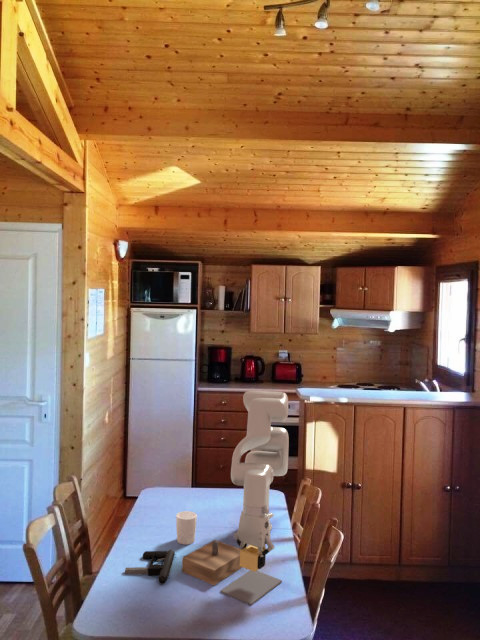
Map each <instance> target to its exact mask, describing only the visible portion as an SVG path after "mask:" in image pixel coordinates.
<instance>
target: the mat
mask: <svg viewBox="0 0 480 640" xmlns="http://www.w3.org/2000/svg"><path fill="white" fill-rule="evenodd" d="M282 582H283V580H282V579H279V578H278V577H274V576H271V575H269V574H266V573H264V572H261V571H259V570H257V571H256V572H254V571H251V570H249V571H247V572H246V573H244V574H242V575H241V576H240V577H238V578H237V579H235V580H233V581H232V582H231V583H229V584H228V585H226V586H224V587H223V588H221V589H220V591H219V592H220V593H221V594H223V595H226V596H228V597H231V598H232V599H235V600H237V601H240V602H242V603H244V604H247V605H249V606H253V605H254V604H256V603H257V602H258V601H259V600H260V599H262V598H264V597H265V596H266V595H267V594H268V593H270V592H271V591H273V589H275V588H277V587H278V586H279V585H280V584H282Z"/></svg>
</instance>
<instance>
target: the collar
mask: <svg viewBox="0 0 480 640" xmlns="http://www.w3.org/2000/svg"><path fill="white" fill-rule="evenodd" d="M262 551H263V550H262ZM259 556H260V555H259V551H258V547H255V546H252V545H249V544H248V545H247V547H245V548H244V549H242V550H241V551H240V566H241V567H242V568H244V569H246V570H249V571H250V570H251V571H254V572H256V571H259V569H258V557H259ZM266 557H267V556H266ZM266 557H265V559H266Z"/></svg>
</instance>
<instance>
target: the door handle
mask: <svg viewBox="0 0 480 640" xmlns="http://www.w3.org/2000/svg"><path fill="white" fill-rule="evenodd" d="M176 556H177V554H176V553H175V551H174V550H173V549H168V550H150V551H149V550H146V551H144V552H143V553H142V558H143V560H150V563H149V565H148V567H147V566H145V567H142V566H141V567H139V566H138V567H137V566H136V567H125V569H124V574H125V575H139V574H141V575H147V576H149V577H158V583H159V584H161V585H164V584H165V583H166V582H167V581H168V580H169V576H170V574H171V571H172V567H173V564H174V563H173V561H174V559H175V557H176ZM155 560H156V562H161V561H162V562H163V563H161V564H155V563H154V562H155Z"/></svg>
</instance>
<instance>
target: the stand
mask: <svg viewBox="0 0 480 640" xmlns="http://www.w3.org/2000/svg"><path fill="white" fill-rule="evenodd" d="M240 551H241V550H240V549H239V547H236V546H234V545H231V544H228V543H226V542H222V541H219V540H217V539H214V540H212V541H211V542H209V543H207V544H205V545H203V546H201V547H200V548H196V549H195V550H193V551H192V552H190V553H188V554H186V555H185V556H182V558H181V559H182V561H181V562H182V563H181V572H182V573H184V574H186V575H188V576H190V577H193V578H195V579H198V580H200V581H202V582H205V583H207V584H209V585H211V586H216V585H217V584H219V583H220V582H222V581H223V580H225V579H227V578H228V577H230V576H231V575H233V574H235V573H236V572H237V571H239V570H240V569H242V568H243V567H241V566H240Z"/></svg>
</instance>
